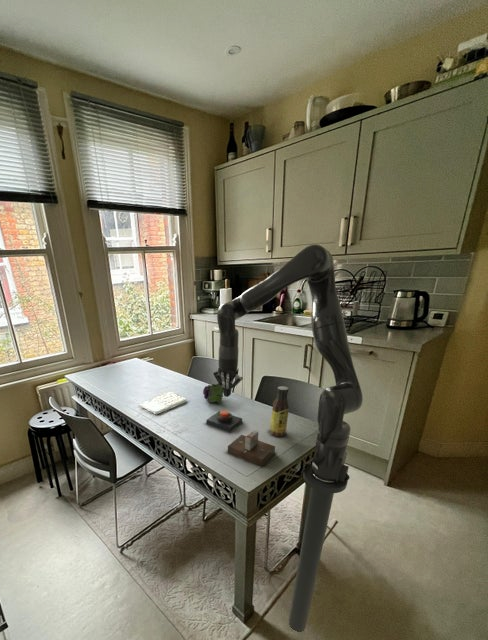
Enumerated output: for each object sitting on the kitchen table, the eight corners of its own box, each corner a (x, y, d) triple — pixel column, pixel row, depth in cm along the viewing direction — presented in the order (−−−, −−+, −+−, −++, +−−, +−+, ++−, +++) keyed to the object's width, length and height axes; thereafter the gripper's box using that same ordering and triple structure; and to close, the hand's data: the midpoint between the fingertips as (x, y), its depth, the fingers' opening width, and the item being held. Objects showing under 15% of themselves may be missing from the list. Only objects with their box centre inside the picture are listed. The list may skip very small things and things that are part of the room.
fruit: (212, 400, 166) (230, 403, 153) (195, 402, 160) (212, 405, 148) (211, 381, 165) (230, 382, 152) (194, 382, 159) (212, 384, 147)
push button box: (242, 422, 137) (242, 414, 136) (230, 432, 130) (230, 424, 129) (219, 415, 144) (219, 407, 143) (206, 424, 137) (206, 416, 136)
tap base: (274, 452, 116) (275, 445, 115) (261, 466, 109) (262, 459, 108) (241, 440, 124) (241, 434, 123) (227, 452, 117) (227, 445, 116)
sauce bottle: (279, 438, 125) (284, 392, 116) (266, 432, 129) (270, 388, 121) (289, 433, 129) (294, 388, 120) (276, 427, 133) (280, 383, 125)
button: (230, 415, 136) (230, 411, 135) (225, 418, 134) (225, 415, 133) (223, 413, 138) (223, 409, 137) (218, 416, 136) (218, 412, 135)
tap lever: (252, 441, 118) (253, 429, 116) (257, 443, 117) (258, 431, 115) (244, 448, 114) (245, 436, 112) (249, 450, 113) (250, 438, 111)
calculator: (187, 401, 158) (187, 398, 158) (155, 415, 146) (155, 411, 146) (170, 394, 167) (170, 391, 167) (139, 406, 155) (138, 402, 155)
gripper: (248, 356, 121) (245, 396, 128) (219, 350, 128) (218, 389, 136) (238, 361, 115) (236, 403, 123) (208, 354, 123) (208, 395, 131)
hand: (226, 395), depth 129 cm, fingers closed
